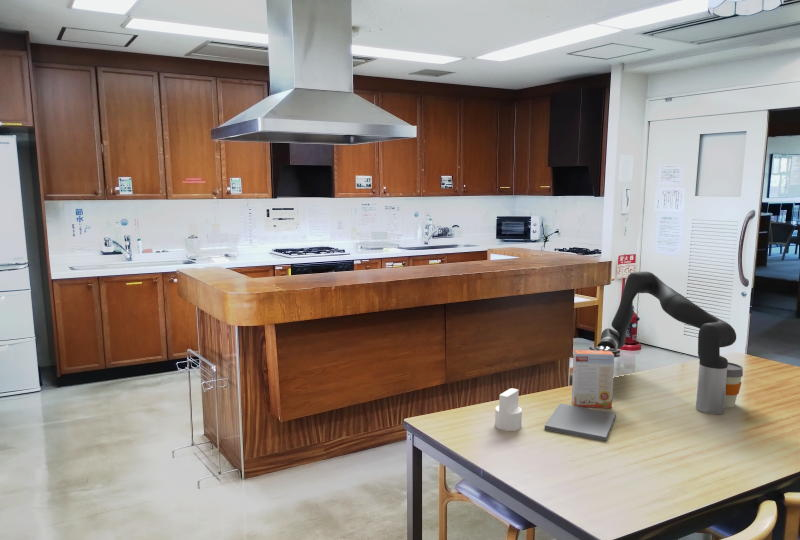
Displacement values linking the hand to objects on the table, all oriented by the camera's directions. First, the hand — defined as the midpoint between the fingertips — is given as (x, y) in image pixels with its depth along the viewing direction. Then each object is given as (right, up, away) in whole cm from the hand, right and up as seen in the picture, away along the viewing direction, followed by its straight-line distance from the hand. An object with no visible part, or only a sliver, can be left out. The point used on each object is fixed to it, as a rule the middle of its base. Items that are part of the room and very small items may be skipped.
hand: (601, 356), depth 238 cm
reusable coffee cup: (+42, -16, -12) cm, 47 cm away
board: (-18, -19, -32) cm, 41 cm away
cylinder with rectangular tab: (-44, -19, -34) cm, 59 cm away
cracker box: (-9, -16, -15) cm, 24 cm away
